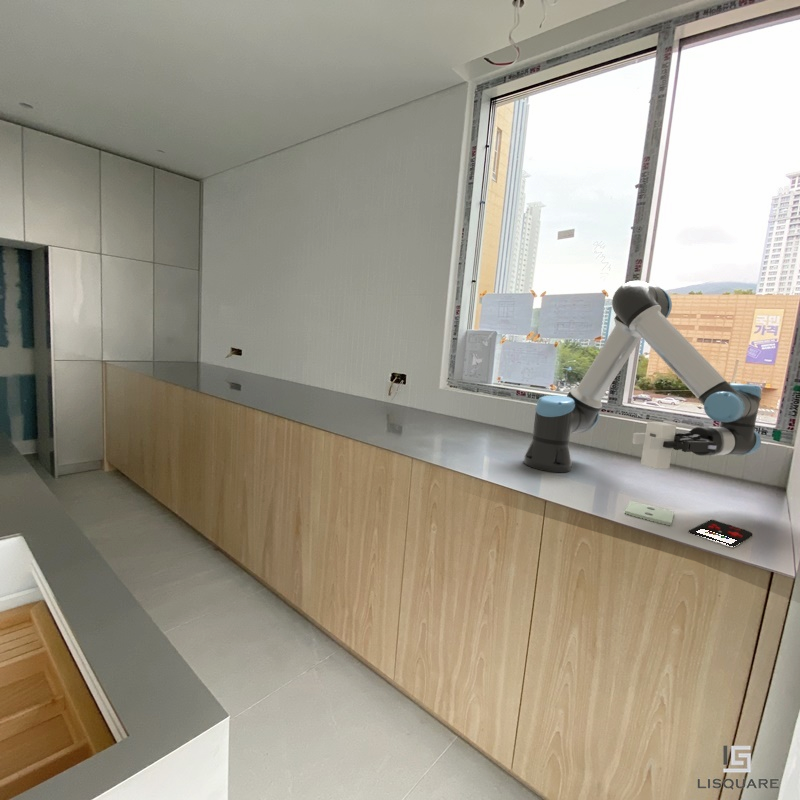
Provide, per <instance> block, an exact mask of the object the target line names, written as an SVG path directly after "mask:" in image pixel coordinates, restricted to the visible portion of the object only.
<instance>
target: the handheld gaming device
mask: <svg viewBox="0 0 800 800" xmlns="http://www.w3.org/2000/svg"><path fill="white" fill-rule="evenodd" d="M700 529H705V530H709V531H708V532H709V534H713V535H718V536H720V535H719V534H721V535H724V536H721V538H726V539H729V538H732V539H735V540H737V541H735V542H734V543H732V544H729V543H726V542H723V541H720V540H717V539H714V538H712V537H709V536H706V535H703V534H700V533H697V532H696V531H698V530H700ZM710 531H712V532H710ZM689 532H690V533H692V534H691V535H693V534H695V535H694V536H696V535H699V536H702V537H706V538H709V539H712V540H715V541H716V540H717V541H719V542H723V543H726V545H727V544H728V545H729V546H733V547H734V546H736V545H738V544H739V543H741V542H742V543H744V542H746V541H747V540H748V539H750V538H751V537H753V532H751V531H749V530H747V529H744V528H740V527H737V526H735V525H730V524H728V523H725V522H722V521H720V520H719V521H718V520H715V519H709V520H707V521H705V522H703V523H701V524H699V525H697V526H695V527H693V528H691V529H689V530H688V533H689ZM708 532H705V533H708ZM713 532H715V533H713ZM690 533H689V534H690ZM716 533H718V534H716ZM725 536H727V537H725ZM728 537H729V538H728ZM743 541H744V542H743ZM742 543H741V544H742ZM739 545H740V544H739ZM739 545H738V546H739ZM736 547H737V546H736Z"/></svg>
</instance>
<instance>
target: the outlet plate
mask: <svg viewBox="0 0 800 800" xmlns="http://www.w3.org/2000/svg"><path fill="white" fill-rule="evenodd" d="M624 513H626V514H625V515H627V514H629V515H628V516H630V515H633V516H632V517H634V516H636V517H635V518H638V517H640V518H639V519H642V518H643V519H642V520H645V519H647V520H646V521H649V520H650V522H653V521H654V522H653V523H657V522H659V523H658V524H660V523H663V524H662V525H664V524H666V525H665V526H668V525H670V526H669V527H672V523H673V519H674V515H675V511H674V510H669V509H664V508H662V507H657V506H653V505H649V504H645V503H641V502H637V501H633V500H630V501H629V503H628V504H627V507H626V508H625V510H624Z"/></svg>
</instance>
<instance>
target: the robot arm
mask: <svg viewBox="0 0 800 800" xmlns="http://www.w3.org/2000/svg"><path fill="white" fill-rule="evenodd" d="M611 305H612V310H613V312H614V314H615V316H614V320H613V321H614V323H615V326H614V328H613V329H612V330H611V332H610V334H609V336H608V337H607V339H606V341H605V342H604V344H603V345H602V347H601V348H600V350H599V352H598V354H597V355H596V356H595V358H594V360H593V361H592V363H591V364H590V367H589V368H588V369H587V371H586V373H585V374H584V376H583V378H582V379H581V380H580V383H579V384H578V386H577V387H575V388H571V389H570V390H569V392H568V393H567V394H566V395H565V396H564V395H551V394H550V395H544V396H541V397H539V399H538V400H537V403H536V406H535V414H534V423H533V429H532V430H533V431H532V439H531V442H530V444H529V446H528V448H527V450H526V452H525V454H524V458H523V463H524V464H525V465H526V466H528V467H530V468H533V469H537V470H541V471H543V472H545V471H546V472H552V473H566V472H567V473H568V472H570V471H571V470H572V465H573V464H572V463H573V462H572V458H571V457H572V456H571V454H570V449H569V448H570V446H569V443H570V439H571V437H570V436H571V434H580V433H581V434H582V433H585V432H587V431H589V430H592V429H593V428H594V427H595V426H596V425H597V423H598V421H599V420H600V411H601V409H602V407H603V403H602V399H603V397H604V396H605V394H606V392H607V391H608V389H609V388H610V387H611V385H612V383H613V382H614V380H615V379H616V377H617V376H618V374H619V373H620V372H621V370H622V369H623V367H624V365H625V363H626V362H627V361H628V359H629V358H630V356H631V354H632V353H633V351H634V350H635V348H636V347H637V345H638V344H639V342H640V340H641V339H643V340H644V341H645V342H646V344H648V345H649V346H650V347H651V348H652V350H653V351H654V352H655V353H656V354H657V355H658V356H659V358H660V359H661V360H662V361H663V362H664V363H665V364H666V365H667V367H668V368H670V370H671V371H673V373H674V374H675V375H676V376H677V377H678V379H679V380H680V381H681V382H682V383H683V385H685V386H686V387H687V388H688V389H689V390H690V391H691V393H692V394H693V395H694V396H695V397H696V398H697V400H698V401H700V403H701V404H702V405H703V410H704V413H705V414H706V416H707V417H708V418H710V420H713V421H715V422H720V425H719V426H697V427H696V426H695V427H693V428H692V429H690V430H689V431H688V432H686V431H683V432H676V431H675V437H674V439H673V438H651V442H650V449H672V448H673V449H672V450H675V451H679V450H680V451H682V452H684V453H693V454H694V455H695V456H706V457H707V456H711V457H713V458H716V457H717V456H738V457H739V456H740V457H741V456H747V455H751V454H754V453H756V452H757V451H758V450H759V448H760V447H761V445H762V439H761V436H760V434H759V433H758V432H757V431H756V430H755V429H756V422H757V416H758V412H759V407H760V403H761V401H762V397H761V395H762V388H761V386H759V385H757V384H756V385H754V384H746V383H736V382H733V383H732V382H731V383H729V382H728V381H727V380H726V379H725V378H724V376H722V375H721V373H720V372H719V371H718V370H717V369H716V368H714V366H713V365H712V364H711V363H710V362H709V361H708V360H707V359H706V358H705V357H704V356H703V355H702V353H700V352H699V351H698V350H697V348H696V347H695V346H693V344H692V343H691V342H689V340H688V339H687V338H686V337H685V336H684V335H683V334H682V333H681V332H680V331H679V330H678V329H677V328H676V327H675V326H674V325H673V324H672V323H671V322H670V321H669V319H667V318H668V317H669V316H670V314H671V312H672V307H673V303H672V298H671V296H670V294H669V293H668V292H667V291H665V289H662V288H661V287H660V286H657V285H654V284H650V283H647V282H645V281H642V280H632V281H628V282H626V283H624V284H622V285H621V286H619V287H618V288H617V290H616V291H615V292H614V294H613V296H612V302H611ZM645 433H646V432H633V436H632V442H631V443H632V444H633V445H644V440H645ZM673 440H674V441H673Z"/></svg>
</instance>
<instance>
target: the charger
mask: <svg viewBox="0 0 800 800" xmlns="http://www.w3.org/2000/svg"><path fill="white" fill-rule="evenodd" d="M676 431H677V425H675V424H671V423H666V422H663V421H647V422H646V428H645V432H644V433H645V440H644V444H643V445H642V446H643V447H642V453H641V458H640V459H641V460H640V464H641V465H643V466H646V467H648V468H651V469H655V470H658V469H659V470H664V469H665V470H667V469H670V465H671V461H672V460H671V459H672V454H673V450H674V449H673V448H672V449H650V442H651V438H673V439H674V437H675V432H676ZM673 441H674V440H673Z"/></svg>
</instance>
